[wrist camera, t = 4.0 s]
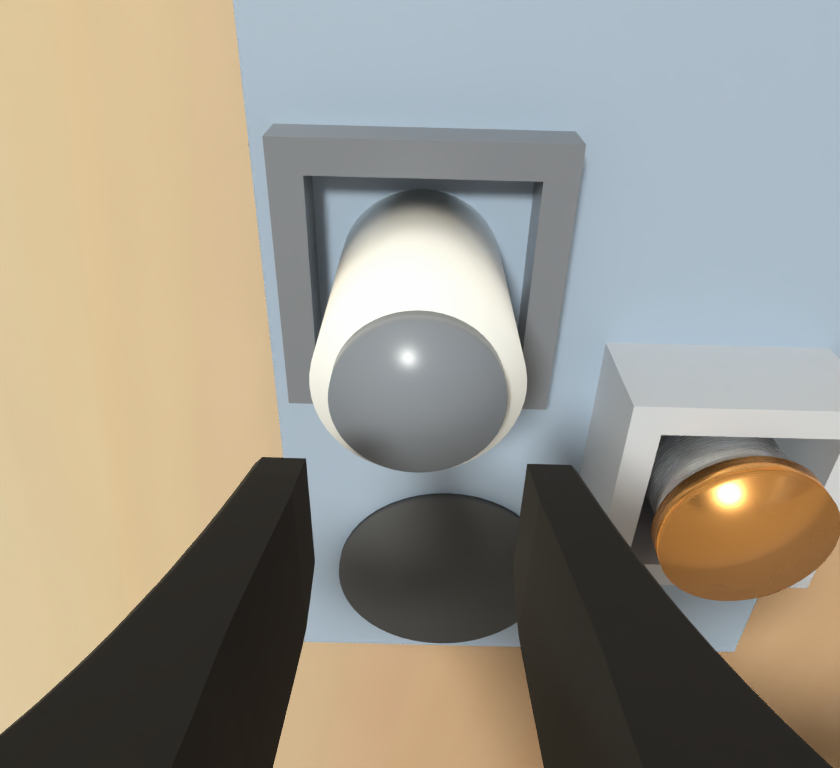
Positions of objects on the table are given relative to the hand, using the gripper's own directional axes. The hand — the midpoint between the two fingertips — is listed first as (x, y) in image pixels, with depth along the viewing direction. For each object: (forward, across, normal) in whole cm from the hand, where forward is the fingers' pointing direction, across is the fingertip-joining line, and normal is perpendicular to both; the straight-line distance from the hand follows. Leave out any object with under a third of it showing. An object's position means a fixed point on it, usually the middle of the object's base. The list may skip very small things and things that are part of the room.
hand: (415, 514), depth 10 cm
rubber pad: (+9, -1, +11) cm, 14 cm away
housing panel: (+9, -4, +4) cm, 11 cm away
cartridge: (+9, 0, 0) cm, 9 cm away
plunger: (+8, -8, +5) cm, 13 cm away
